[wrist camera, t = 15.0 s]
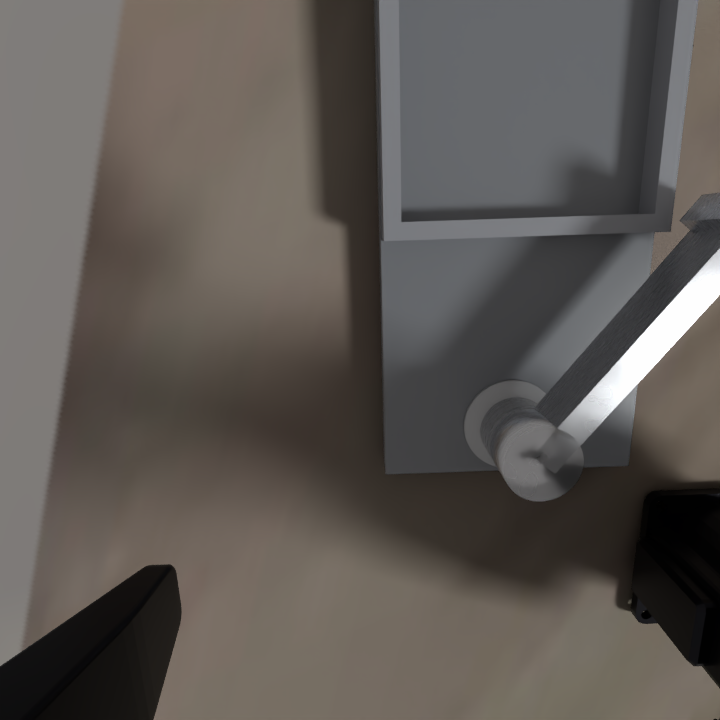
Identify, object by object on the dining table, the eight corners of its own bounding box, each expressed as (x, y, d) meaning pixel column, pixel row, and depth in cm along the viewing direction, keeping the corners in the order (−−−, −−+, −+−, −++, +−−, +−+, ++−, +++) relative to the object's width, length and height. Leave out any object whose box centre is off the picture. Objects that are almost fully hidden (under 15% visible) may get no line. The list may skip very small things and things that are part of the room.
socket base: (691, -311, 15) (748, -402, 13) (613, 452, 21) (642, 477, 19) (366, -302, 15) (369, -392, 13) (384, 461, 21) (387, 486, 19)
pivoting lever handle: (728, 238, 17) (804, 239, 14) (517, 472, 19) (546, 515, 16) (676, 191, 17) (743, 182, 14) (466, 436, 19) (486, 472, 16)
